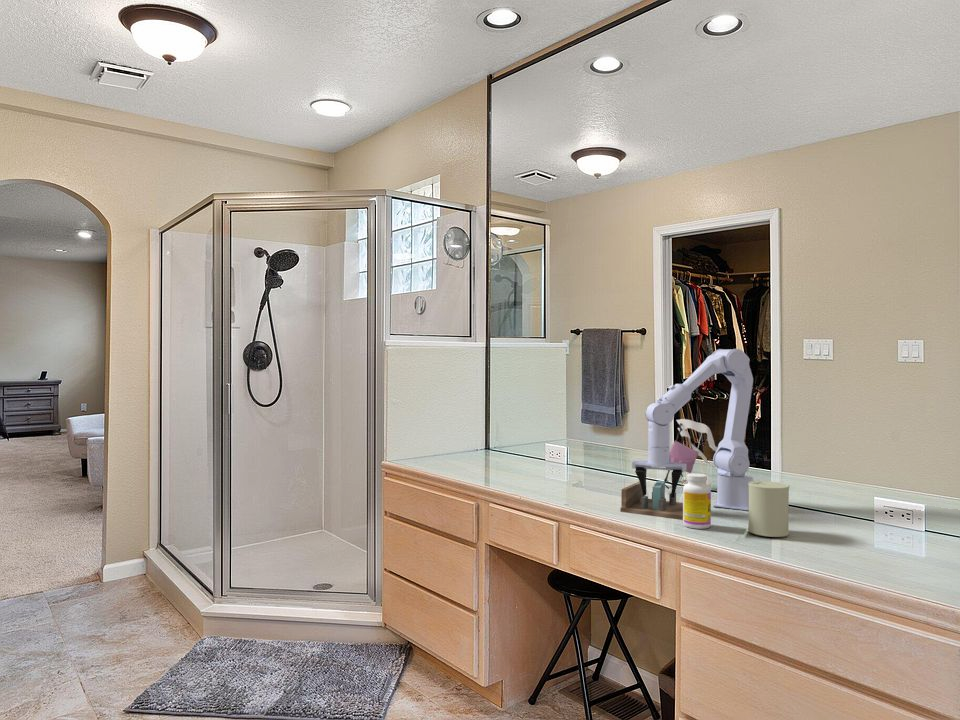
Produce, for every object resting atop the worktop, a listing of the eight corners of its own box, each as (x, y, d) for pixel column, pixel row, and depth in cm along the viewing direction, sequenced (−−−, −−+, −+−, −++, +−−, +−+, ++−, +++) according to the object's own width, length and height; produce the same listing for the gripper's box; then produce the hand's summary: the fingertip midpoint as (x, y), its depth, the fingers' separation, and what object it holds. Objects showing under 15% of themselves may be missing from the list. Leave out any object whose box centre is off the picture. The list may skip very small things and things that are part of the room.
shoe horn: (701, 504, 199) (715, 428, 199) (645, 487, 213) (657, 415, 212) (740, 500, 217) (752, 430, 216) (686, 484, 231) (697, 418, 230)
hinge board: (703, 508, 191) (703, 487, 191) (686, 520, 178) (686, 496, 178) (640, 501, 201) (640, 480, 201) (620, 511, 187) (620, 489, 187)
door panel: (664, 502, 194) (664, 481, 194) (660, 509, 185) (660, 487, 185) (657, 501, 195) (657, 480, 195) (652, 509, 186) (652, 487, 186)
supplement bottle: (712, 530, 167) (712, 477, 167) (684, 528, 169) (684, 476, 169) (708, 523, 174) (709, 473, 174) (681, 522, 175) (681, 472, 175)
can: (754, 525, 172) (755, 477, 172) (793, 531, 167) (794, 482, 167) (742, 532, 165) (742, 482, 165) (782, 539, 159) (783, 487, 159)
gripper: (687, 446, 191) (687, 495, 191) (634, 443, 196) (634, 491, 196) (685, 449, 184) (685, 500, 184) (630, 446, 190) (630, 495, 190)
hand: (658, 495), depth 190 cm, fingers open, 7 cm apart
